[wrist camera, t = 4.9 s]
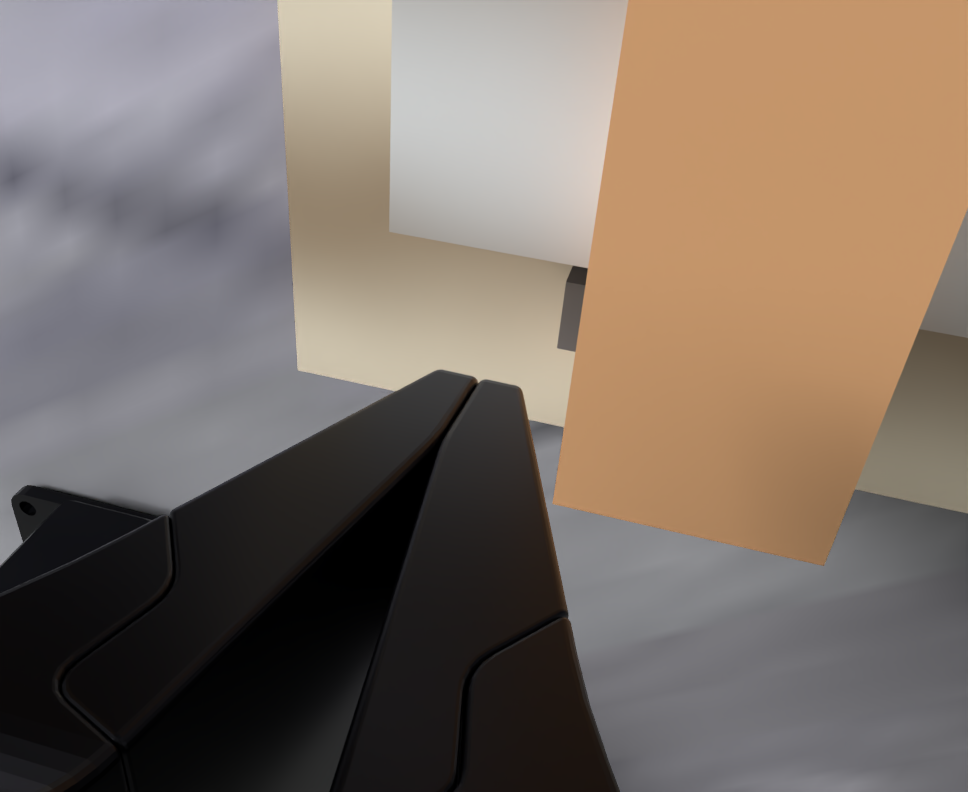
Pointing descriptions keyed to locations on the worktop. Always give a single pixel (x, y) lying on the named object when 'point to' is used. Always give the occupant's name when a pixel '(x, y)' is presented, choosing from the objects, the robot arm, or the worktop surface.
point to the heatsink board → (506, 212)
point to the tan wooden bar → (762, 259)
